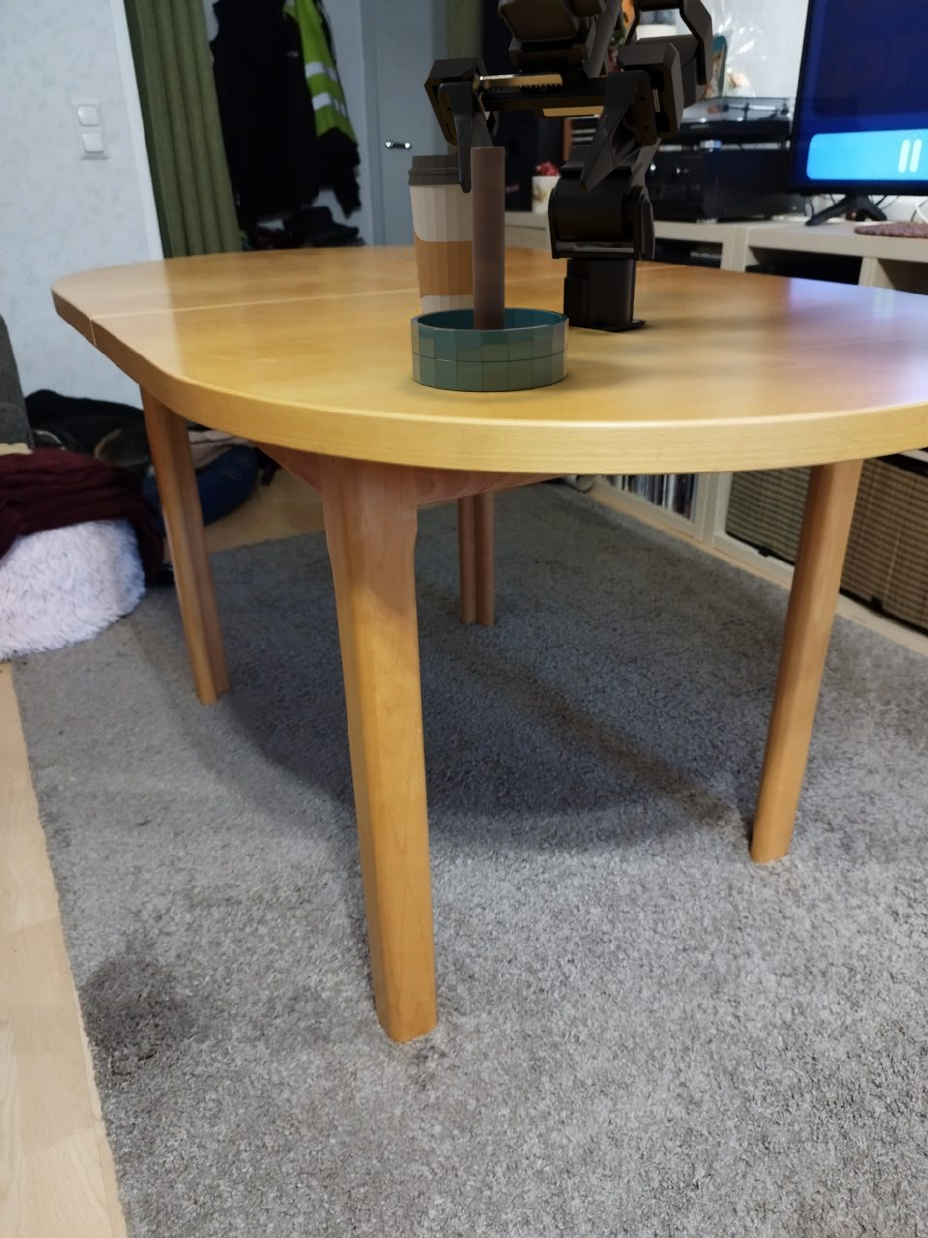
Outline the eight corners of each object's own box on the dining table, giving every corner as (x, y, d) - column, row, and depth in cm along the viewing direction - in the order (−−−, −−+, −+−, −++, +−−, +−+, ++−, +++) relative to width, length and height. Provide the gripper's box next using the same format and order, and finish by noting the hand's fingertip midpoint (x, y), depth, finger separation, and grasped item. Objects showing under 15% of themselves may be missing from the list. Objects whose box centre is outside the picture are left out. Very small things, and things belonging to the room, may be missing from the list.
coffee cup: (493, 340, 81) (492, 153, 74) (404, 338, 82) (395, 155, 75) (507, 325, 88) (507, 154, 81) (425, 324, 89) (419, 156, 83)
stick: (492, 365, 67) (491, 147, 60) (532, 374, 64) (535, 145, 57) (446, 374, 65) (440, 148, 58) (485, 383, 61) (483, 145, 55)
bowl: (497, 362, 71) (497, 303, 69) (597, 383, 64) (601, 317, 62) (383, 382, 65) (380, 318, 63) (479, 408, 58) (478, 336, 56)
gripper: (430, -71, 64) (363, 97, 60) (691, -107, 57) (634, 81, 53) (476, 67, 74) (421, 219, 70) (703, 51, 67) (656, 219, 63)
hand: (522, 187), depth 64 cm, fingers open, 9 cm apart
